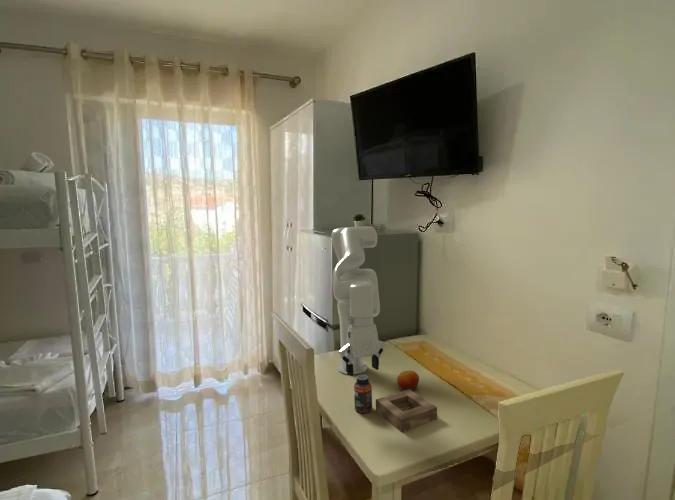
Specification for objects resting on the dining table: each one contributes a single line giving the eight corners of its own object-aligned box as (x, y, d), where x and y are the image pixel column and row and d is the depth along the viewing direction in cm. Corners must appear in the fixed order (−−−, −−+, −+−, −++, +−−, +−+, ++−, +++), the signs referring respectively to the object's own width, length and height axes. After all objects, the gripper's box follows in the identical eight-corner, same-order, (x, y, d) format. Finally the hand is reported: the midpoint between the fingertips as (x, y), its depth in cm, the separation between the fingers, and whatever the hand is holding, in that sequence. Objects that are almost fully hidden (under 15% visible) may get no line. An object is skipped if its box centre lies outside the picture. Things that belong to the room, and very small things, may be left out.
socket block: (375, 410, 126) (375, 399, 125) (409, 400, 132) (409, 389, 132) (401, 432, 113) (401, 419, 113) (437, 419, 120) (437, 407, 119)
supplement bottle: (374, 406, 129) (373, 374, 128) (369, 415, 123) (369, 382, 122) (357, 403, 131) (356, 372, 130) (352, 412, 125) (351, 379, 124)
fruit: (409, 394, 134) (402, 371, 136) (398, 397, 140) (391, 375, 143) (427, 388, 137) (419, 366, 140) (415, 391, 144) (408, 370, 147)
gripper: (343, 327, 116) (345, 381, 118) (390, 319, 124) (391, 370, 126) (332, 322, 123) (334, 373, 124) (377, 314, 131) (378, 362, 132)
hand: (362, 371), depth 125 cm, fingers open, 9 cm apart
